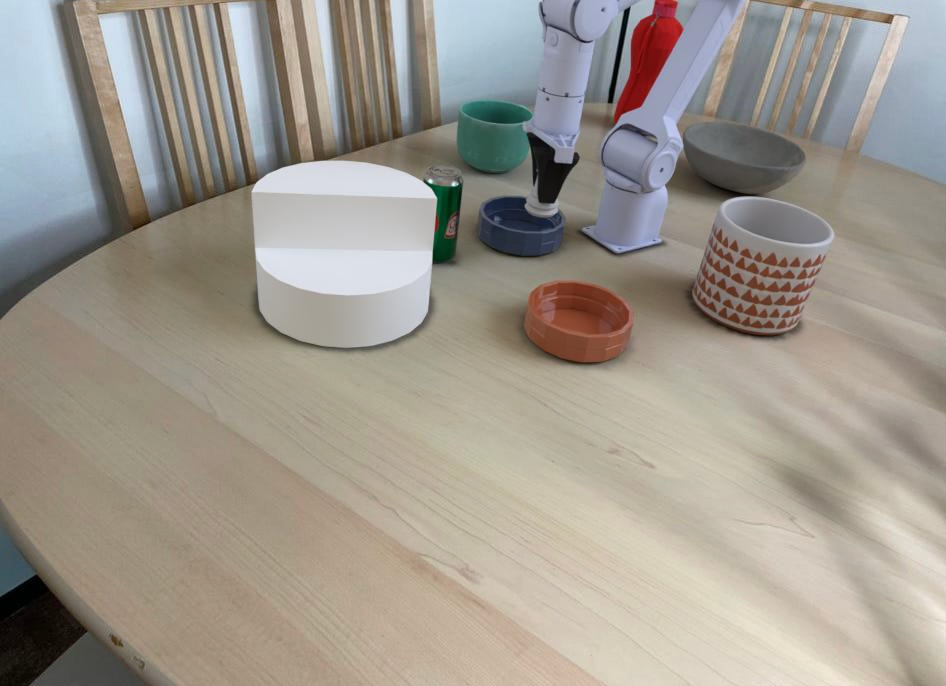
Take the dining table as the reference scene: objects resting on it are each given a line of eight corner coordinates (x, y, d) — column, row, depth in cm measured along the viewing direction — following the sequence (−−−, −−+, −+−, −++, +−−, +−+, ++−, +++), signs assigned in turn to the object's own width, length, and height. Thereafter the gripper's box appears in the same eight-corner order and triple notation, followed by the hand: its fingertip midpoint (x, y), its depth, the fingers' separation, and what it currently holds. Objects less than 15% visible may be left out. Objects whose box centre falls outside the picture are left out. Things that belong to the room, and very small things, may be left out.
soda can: (450, 267, 98) (459, 181, 91) (413, 260, 98) (419, 174, 92) (458, 250, 102) (468, 167, 95) (423, 244, 103) (429, 160, 96)
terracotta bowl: (580, 298, 95) (585, 272, 93) (648, 348, 87) (656, 321, 85) (503, 320, 89) (507, 293, 87) (569, 376, 81) (575, 348, 79)
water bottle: (602, 127, 154) (629, -4, 140) (628, 117, 161) (657, -8, 147) (641, 140, 149) (673, 6, 135) (666, 130, 156) (699, 2, 142)
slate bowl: (526, 213, 114) (530, 190, 112) (578, 248, 107) (583, 224, 104) (460, 227, 108) (463, 202, 106) (510, 264, 100) (514, 239, 98)
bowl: (803, 185, 138) (818, 143, 133) (776, 221, 123) (793, 175, 118) (693, 153, 146) (705, 113, 142) (655, 183, 131) (667, 139, 126)
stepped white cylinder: (251, 348, 79) (242, 234, 71) (264, 257, 95) (258, 156, 87) (438, 347, 83) (448, 240, 75) (420, 260, 99) (427, 164, 91)
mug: (497, 186, 122) (505, 129, 117) (439, 162, 128) (444, 107, 123) (551, 163, 134) (561, 110, 128) (495, 142, 139) (502, 91, 134)
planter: (723, 271, 105) (752, 187, 98) (815, 314, 98) (853, 227, 91) (671, 300, 97) (698, 210, 90) (766, 350, 89) (804, 256, 82)
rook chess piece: (521, 203, 99) (530, 145, 95) (554, 204, 100) (564, 147, 95) (526, 217, 96) (536, 158, 91) (560, 219, 96) (571, 160, 92)
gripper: (520, 70, 94) (506, 171, 102) (538, 106, 83) (521, 218, 90) (574, 75, 95) (557, 175, 103) (599, 111, 83) (577, 221, 91)
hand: (543, 195), depth 97 cm, fingers closed on rook chess piece, 3 cm apart
